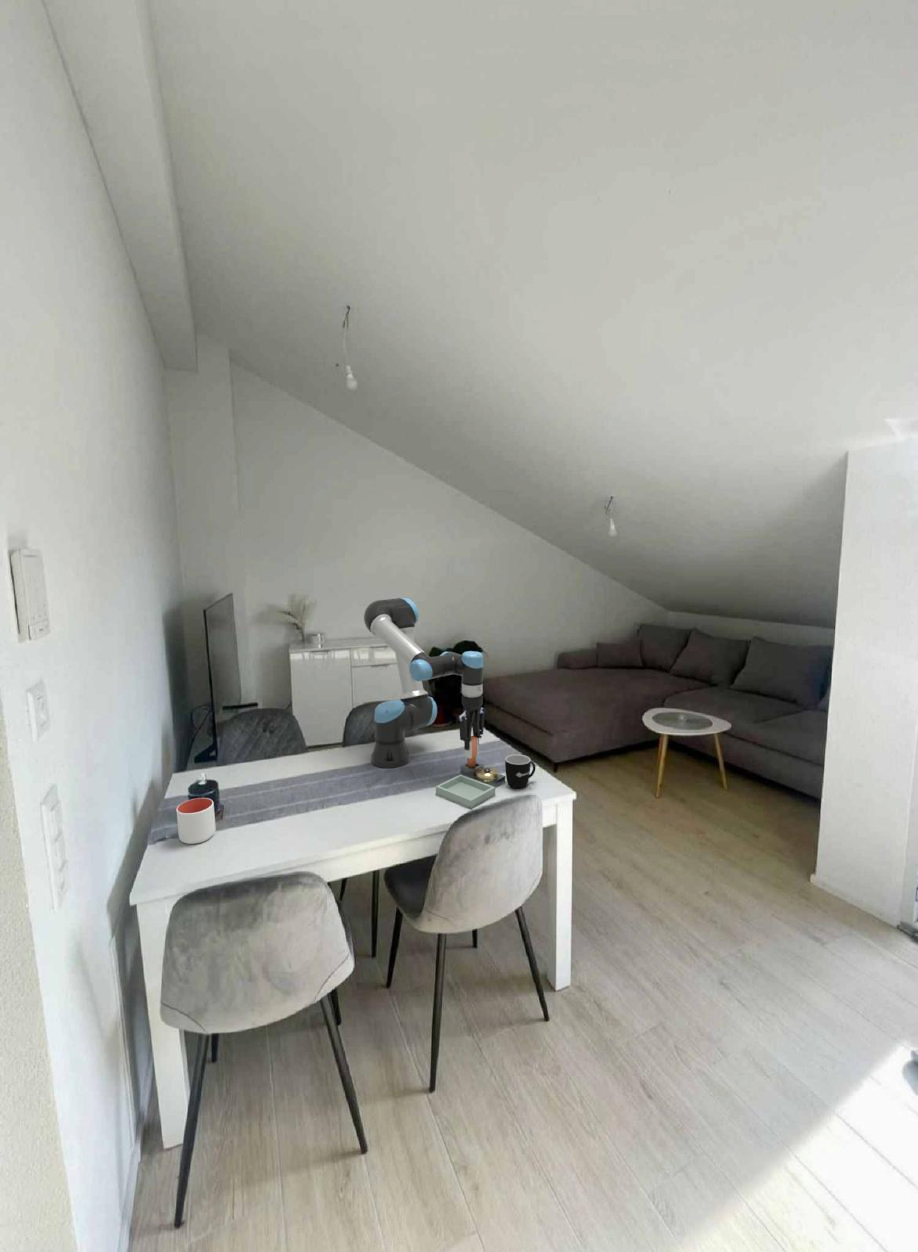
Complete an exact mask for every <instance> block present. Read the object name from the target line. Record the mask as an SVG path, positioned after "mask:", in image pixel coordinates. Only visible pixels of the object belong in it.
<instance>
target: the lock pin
mask: <svg viewBox="0 0 918 1252" xmlns="http://www.w3.org/2000/svg"><path fill="white" fill-rule="evenodd" d="M470 741H472V758H471V759H470V758H467V757H466V758H467V762H466V763H467V766H468V767H470V768H473V767H476V762H477V756H476V737H475V736H473V735H471V740H470Z"/></svg>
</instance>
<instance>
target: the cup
mask: <svg viewBox="0 0 918 1252" xmlns="http://www.w3.org/2000/svg"><path fill="white" fill-rule="evenodd" d="M214 805H215V804H214V801H213V800H212V799H211V798H208V797H198V798H193V799H188V800H186V801H184V802H181V803H180V804H179V805H178V806H177V807H176V809H175V810H176V821H177V830H178V838H179V839H178V840H179V841H180V842H182V843H184V844H186V845H187V844H189V845H194V844H200V843H203V842H206V841H208V840H209V839H211V838H212V837H213V836H214V835H215V833H216V829H217V827H216V818H215V815H216V814H215V806H214Z"/></svg>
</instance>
